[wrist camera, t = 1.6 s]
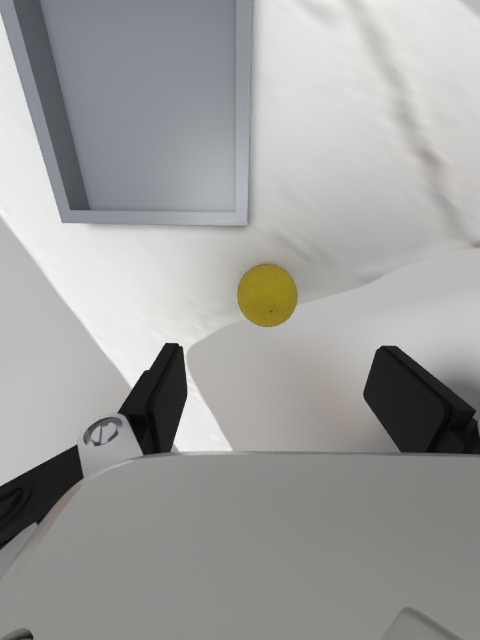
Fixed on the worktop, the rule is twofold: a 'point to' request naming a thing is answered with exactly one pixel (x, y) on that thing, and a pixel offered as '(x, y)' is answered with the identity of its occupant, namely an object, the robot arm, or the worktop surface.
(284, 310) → the lemon
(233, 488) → the robot arm
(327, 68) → the worktop surface
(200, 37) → the tray
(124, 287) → the worktop surface
